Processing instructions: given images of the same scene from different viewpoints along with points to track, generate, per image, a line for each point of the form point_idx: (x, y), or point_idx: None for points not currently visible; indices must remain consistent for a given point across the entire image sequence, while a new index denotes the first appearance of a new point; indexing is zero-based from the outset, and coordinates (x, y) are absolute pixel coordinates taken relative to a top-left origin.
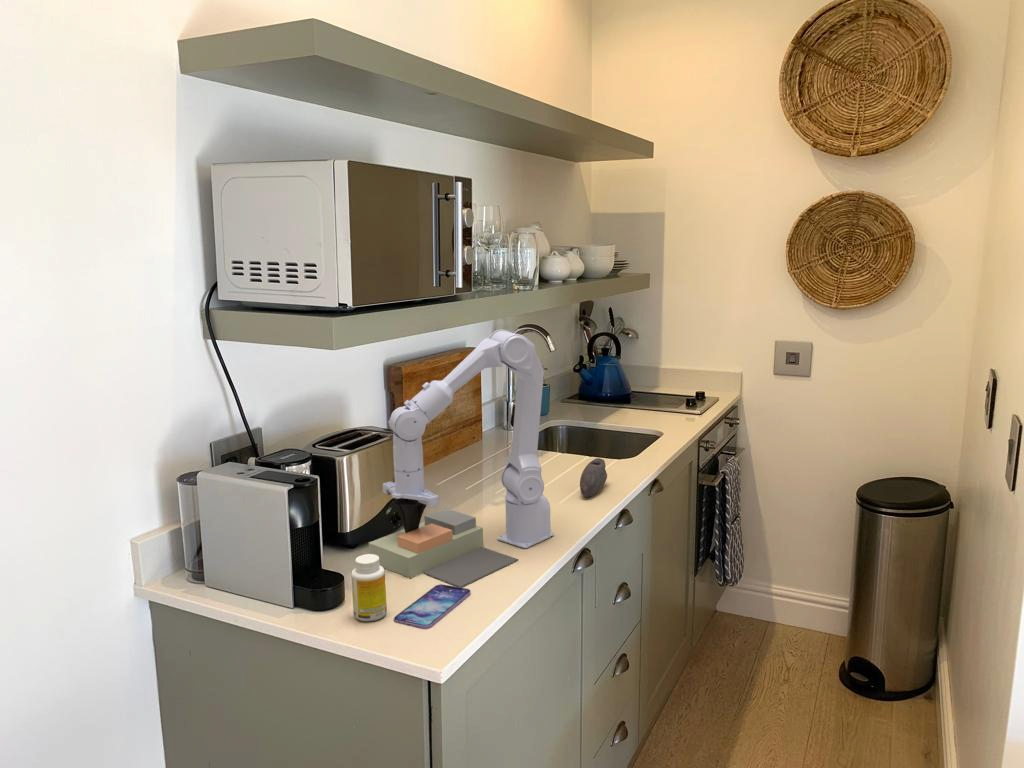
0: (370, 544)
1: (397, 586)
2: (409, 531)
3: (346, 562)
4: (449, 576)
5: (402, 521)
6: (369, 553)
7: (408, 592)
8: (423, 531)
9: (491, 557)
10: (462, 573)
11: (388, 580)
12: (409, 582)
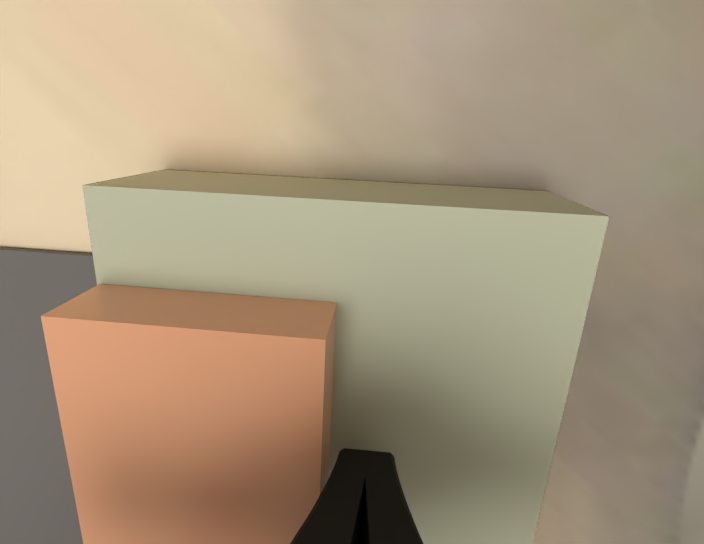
0: (576, 212)
1: (125, 38)
2: (334, 472)
3: (693, 87)
4: (16, 298)
5: (406, 538)
6: (565, 199)
7: (12, 21)
8: (234, 518)
9: (65, 539)
10: (6, 358)
11: (235, 65)
12: (121, 127)
